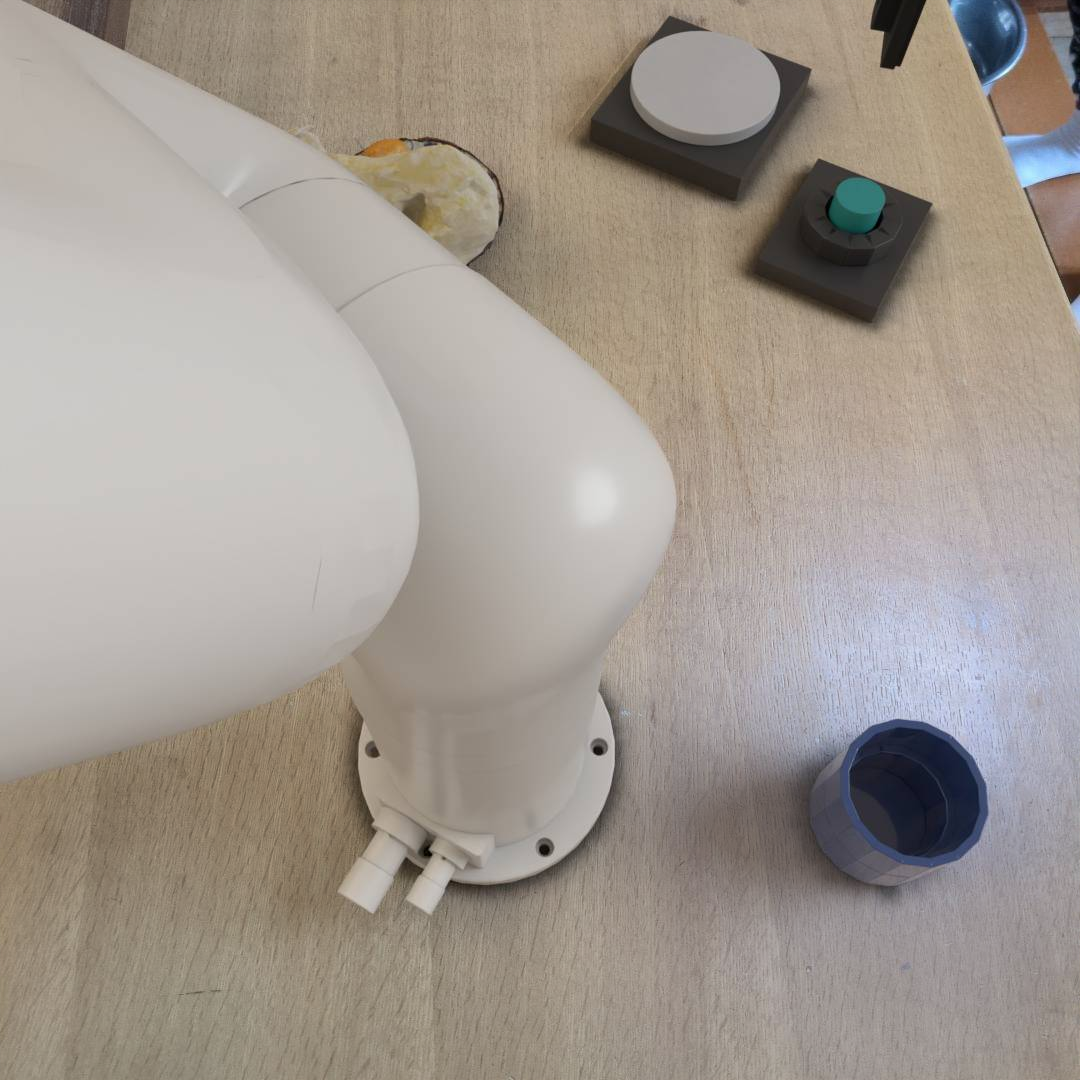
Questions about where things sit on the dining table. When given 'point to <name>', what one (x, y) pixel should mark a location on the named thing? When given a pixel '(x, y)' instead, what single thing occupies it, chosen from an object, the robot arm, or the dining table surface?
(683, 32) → the scale
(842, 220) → the button
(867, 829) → the blue cup
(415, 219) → the cheese
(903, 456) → the dining table surface
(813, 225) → the panel
